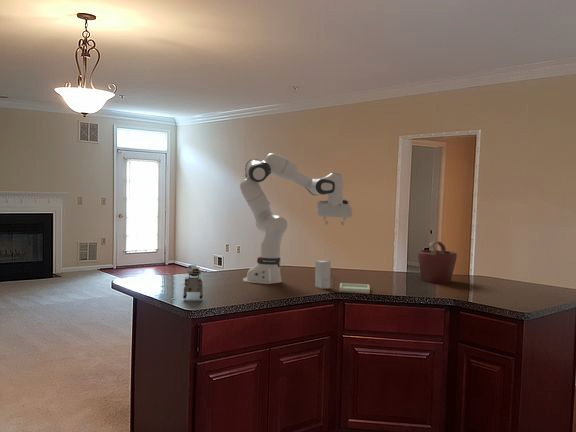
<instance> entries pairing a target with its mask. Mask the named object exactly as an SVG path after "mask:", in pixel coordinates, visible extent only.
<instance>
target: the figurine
mask: <svg viewBox="0 0 576 432" xmlns="http://www.w3.org/2000/svg"><path fill="white" fill-rule="evenodd" d="M186 271H187V273H188V277H185V278H184V287H183V295H182V298H183V299H187V295H188V294H187V293H199V299H203V297H204V294H203V288H204V287H203V286H204V285H203V280H202V278H200V275H201V273H202V271H201V269H200V266H197V265H194V264H190V265H188V267H187V268H186Z"/></svg>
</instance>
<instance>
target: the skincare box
mask: <svg viewBox="0 0 576 432" xmlns="http://www.w3.org/2000/svg"><path fill="white" fill-rule="evenodd" d="M314 263H315V266H314V267H315V270H314V271H315V281H314V282H315V285H314V286H315V287H316V288H318V289H328V290H329V289H331V261H328V260H315V261H314Z"/></svg>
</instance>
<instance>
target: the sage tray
mask: <svg viewBox="0 0 576 432" xmlns="http://www.w3.org/2000/svg"><path fill="white" fill-rule="evenodd" d="M338 290H339V293H349V294H350V293H351V294H352V293H354V294H368V295H369V294H371V288H370V284H368V283H367V284H365V283H347V282H346V283H345V282H340V283H339V289H338Z"/></svg>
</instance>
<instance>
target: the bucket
mask: <svg viewBox="0 0 576 432" xmlns="http://www.w3.org/2000/svg"><path fill="white" fill-rule="evenodd" d="M436 244H438V246H439V248H440V249H439V250H437V249H436V247H435V245H436ZM428 246H429V248H430V249H421V250H419V251H418V254H417V256H418V264H419V270H420V278H421V281H422V282H425V283H429V284H440V285H441V284H442V285H444V284H450V283H451V281H452V277H453V272H454V270H455V265H456V261H457V259H458V258H457V257H458V255H457V254H458V253H457V252H453V251H448V250H447V249H446V246H445V244H444V243H443V242H442V241H436V240H434V241H431V242H430V243H429V244H428Z"/></svg>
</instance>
